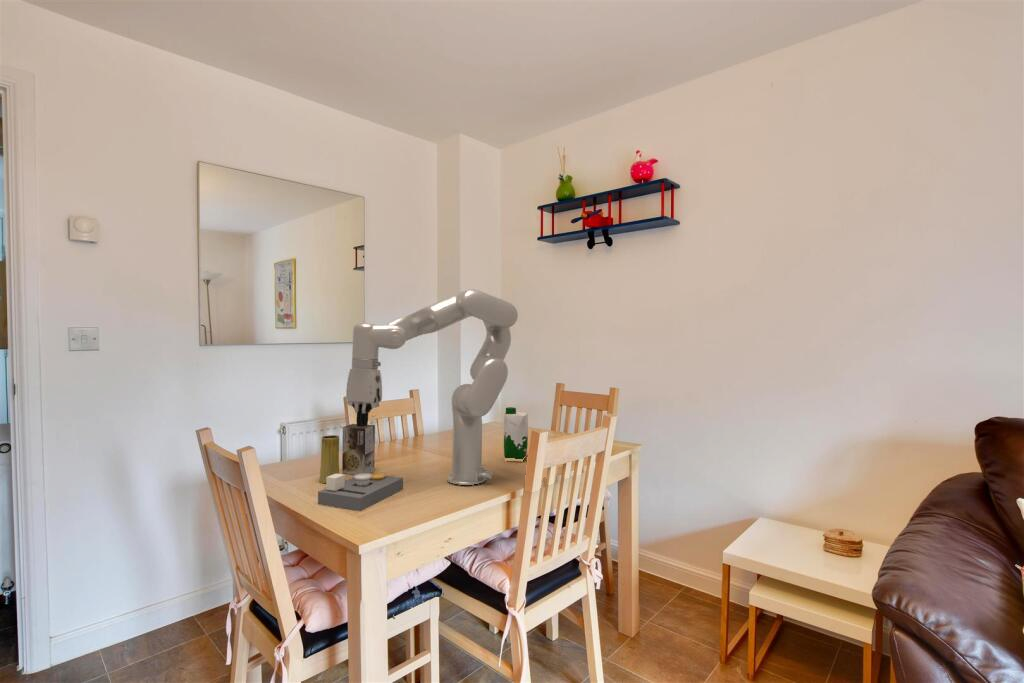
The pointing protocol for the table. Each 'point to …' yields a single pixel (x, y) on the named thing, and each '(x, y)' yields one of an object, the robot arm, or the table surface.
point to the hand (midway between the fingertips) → (362, 425)
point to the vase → (329, 457)
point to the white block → (335, 482)
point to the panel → (360, 493)
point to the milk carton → (515, 434)
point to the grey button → (362, 479)
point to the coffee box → (358, 449)
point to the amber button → (377, 476)
